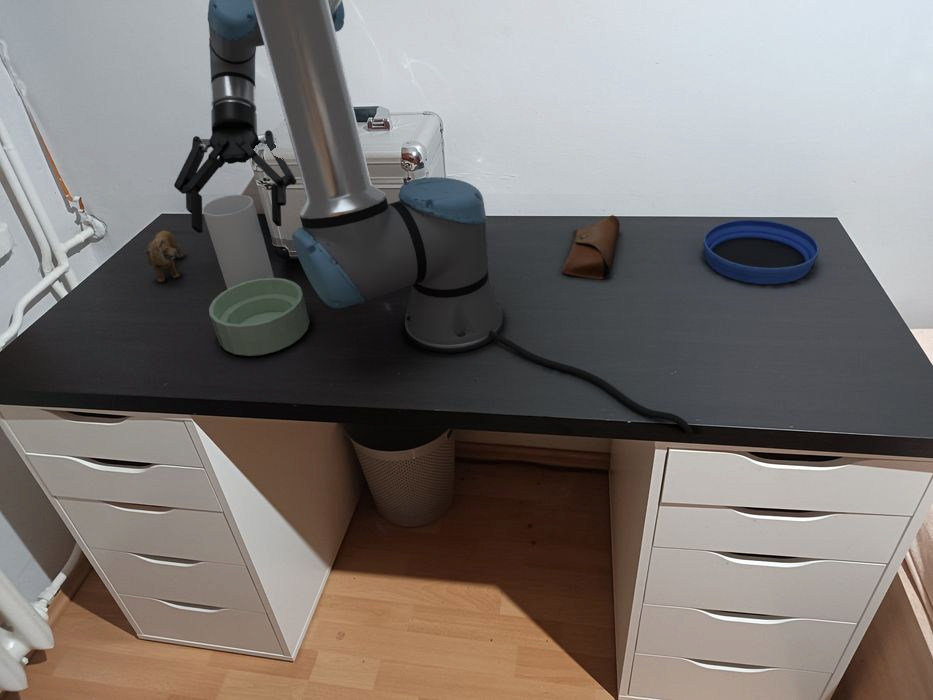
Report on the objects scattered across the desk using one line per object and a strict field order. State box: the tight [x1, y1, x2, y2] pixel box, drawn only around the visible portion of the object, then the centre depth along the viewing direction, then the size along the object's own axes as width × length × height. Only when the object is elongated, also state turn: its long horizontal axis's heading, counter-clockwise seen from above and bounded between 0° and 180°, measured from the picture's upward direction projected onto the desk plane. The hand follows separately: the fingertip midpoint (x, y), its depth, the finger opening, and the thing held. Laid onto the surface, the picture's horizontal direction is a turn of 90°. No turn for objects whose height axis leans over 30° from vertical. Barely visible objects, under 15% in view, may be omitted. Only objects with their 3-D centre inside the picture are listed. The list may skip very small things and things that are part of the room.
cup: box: [202, 194, 275, 290], centre depth 117 cm, size 8×8×16 cm
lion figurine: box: [145, 230, 184, 283], centre depth 127 cm, size 15×5×9 cm, turn 22°
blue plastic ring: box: [702, 219, 819, 285], centre depth 116 cm, size 18×18×4 cm
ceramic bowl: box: [208, 277, 310, 357], centre depth 108 cm, size 14×14×6 cm
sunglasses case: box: [561, 214, 621, 280], centre depth 122 cm, size 18×7×7 cm
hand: (237, 227), depth 116 cm, fingers open, 13 cm apart
